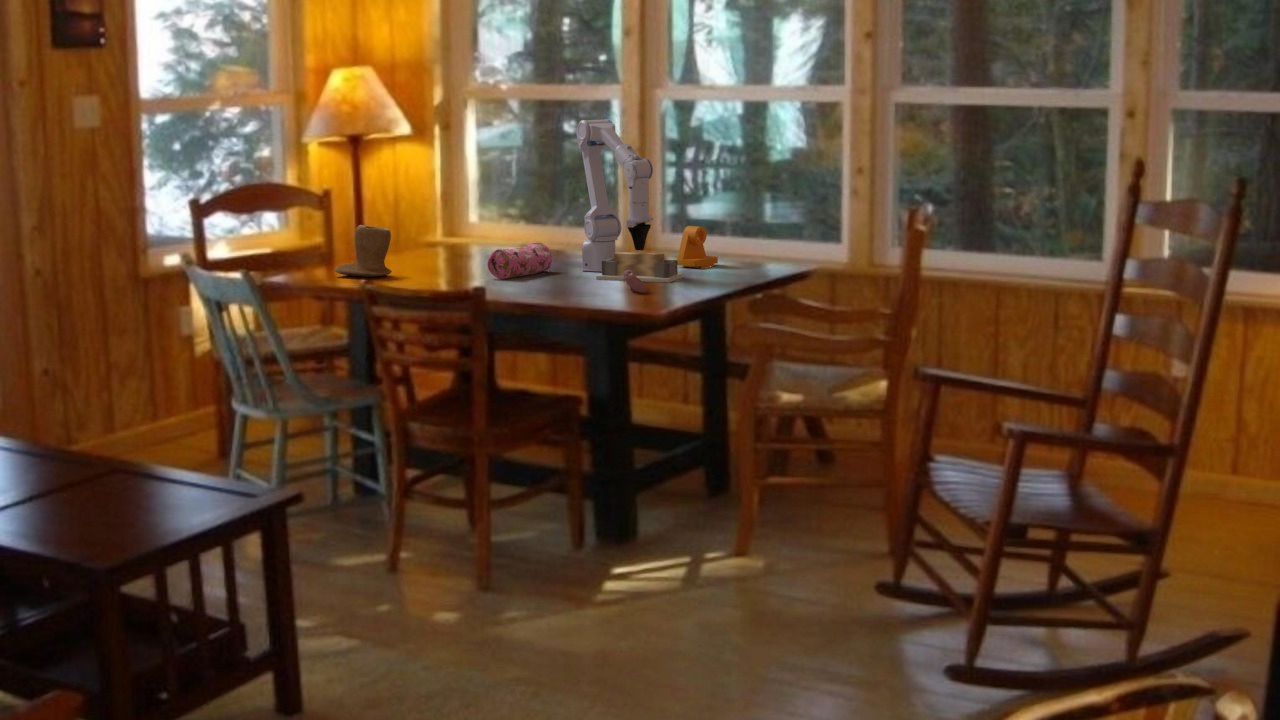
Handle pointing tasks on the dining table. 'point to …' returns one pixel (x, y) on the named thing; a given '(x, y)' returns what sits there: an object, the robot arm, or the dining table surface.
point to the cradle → (662, 274)
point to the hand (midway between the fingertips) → (639, 250)
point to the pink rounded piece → (634, 282)
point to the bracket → (694, 249)
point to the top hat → (369, 253)
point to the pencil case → (520, 261)
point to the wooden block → (637, 262)
